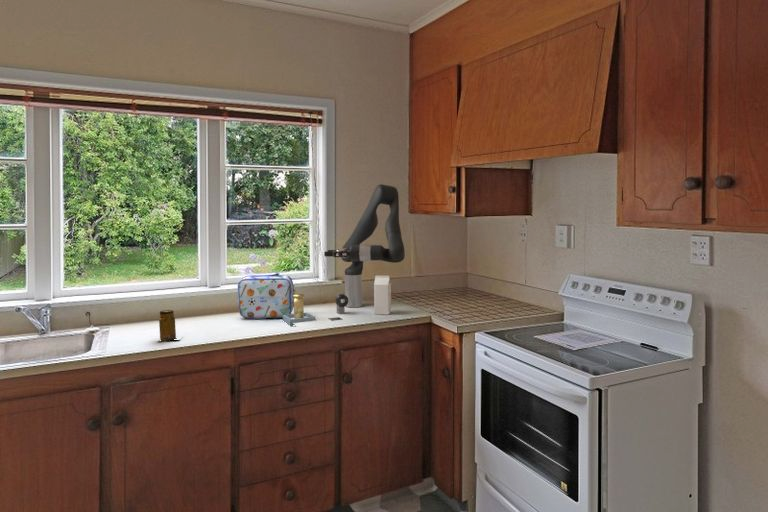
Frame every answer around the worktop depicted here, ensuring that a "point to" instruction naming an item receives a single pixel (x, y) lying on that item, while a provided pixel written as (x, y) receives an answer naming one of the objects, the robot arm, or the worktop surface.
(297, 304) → the pin
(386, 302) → the milk carton
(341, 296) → the tensioner bracket
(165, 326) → the condiment
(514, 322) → the worktop surface
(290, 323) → the grey open frame
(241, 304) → the lunch box
